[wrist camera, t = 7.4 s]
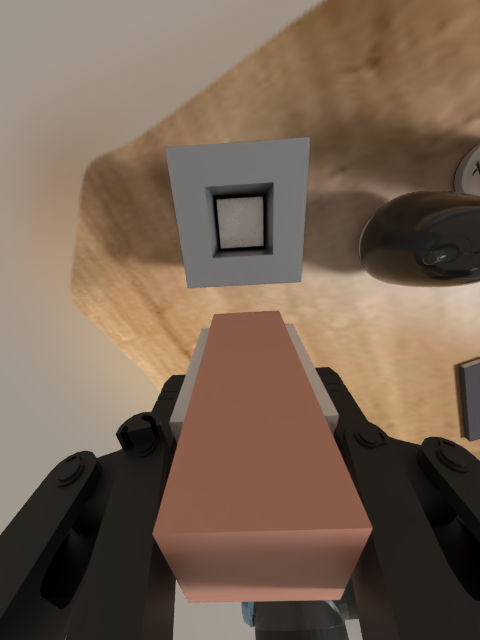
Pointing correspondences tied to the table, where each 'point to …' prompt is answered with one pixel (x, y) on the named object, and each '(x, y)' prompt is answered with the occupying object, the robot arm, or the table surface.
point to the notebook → (471, 398)
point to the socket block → (241, 182)
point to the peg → (258, 477)
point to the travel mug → (469, 173)
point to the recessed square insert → (240, 222)
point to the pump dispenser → (424, 240)
